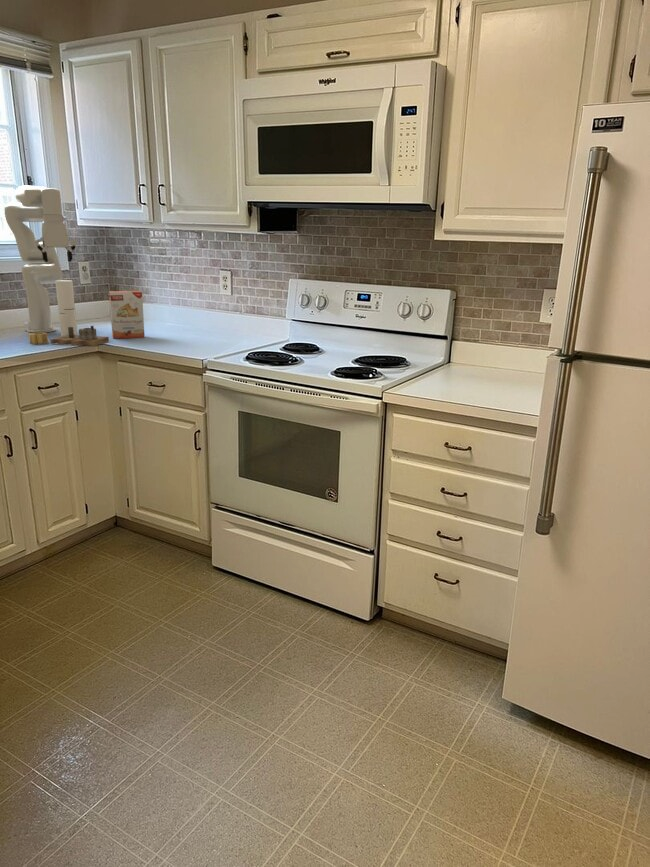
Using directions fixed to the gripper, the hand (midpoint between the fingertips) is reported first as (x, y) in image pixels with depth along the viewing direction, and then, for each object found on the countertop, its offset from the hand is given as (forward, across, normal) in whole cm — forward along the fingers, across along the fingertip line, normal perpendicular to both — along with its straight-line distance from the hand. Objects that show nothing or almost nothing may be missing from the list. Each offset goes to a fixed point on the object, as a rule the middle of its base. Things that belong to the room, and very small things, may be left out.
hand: (58, 261), depth 276 cm
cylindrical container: (+34, -4, -12) cm, 36 cm away
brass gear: (+34, +12, +1) cm, 36 cm away
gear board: (+34, -4, +8) cm, 35 cm away
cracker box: (+34, -26, +4) cm, 43 cm away
